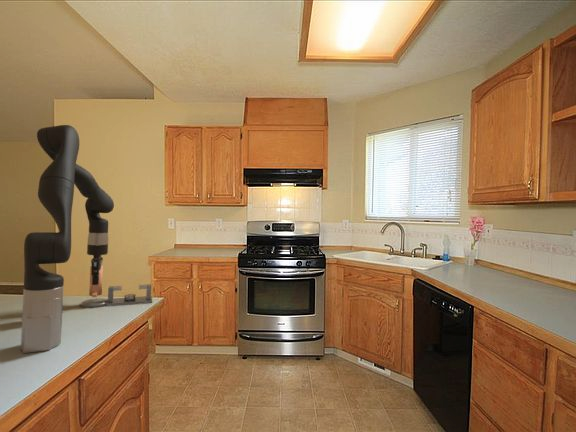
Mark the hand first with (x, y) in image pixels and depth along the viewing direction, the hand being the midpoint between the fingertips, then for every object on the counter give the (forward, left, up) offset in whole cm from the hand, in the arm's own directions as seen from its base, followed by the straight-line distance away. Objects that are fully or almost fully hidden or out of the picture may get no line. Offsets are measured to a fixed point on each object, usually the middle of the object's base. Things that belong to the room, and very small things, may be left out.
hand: (96, 283), depth 132 cm
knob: (0, 0, -5) cm, 5 cm away
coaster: (0, 0, -9) cm, 9 cm away
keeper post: (0, -13, -9) cm, 16 cm away
